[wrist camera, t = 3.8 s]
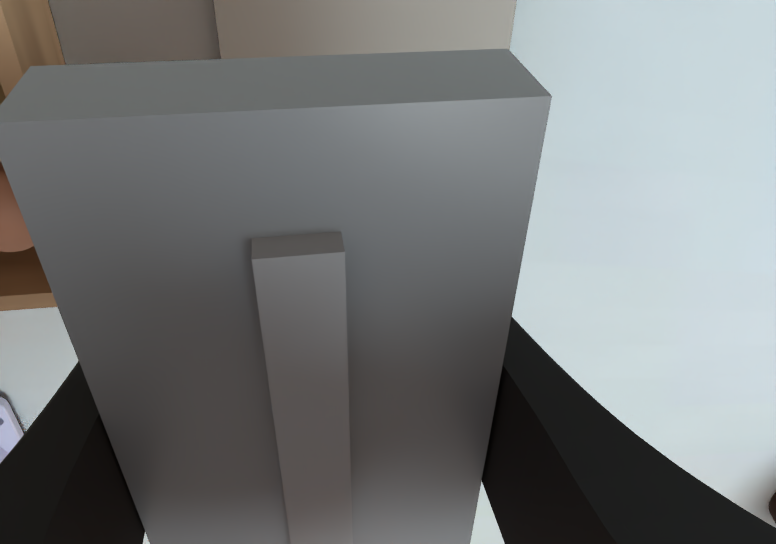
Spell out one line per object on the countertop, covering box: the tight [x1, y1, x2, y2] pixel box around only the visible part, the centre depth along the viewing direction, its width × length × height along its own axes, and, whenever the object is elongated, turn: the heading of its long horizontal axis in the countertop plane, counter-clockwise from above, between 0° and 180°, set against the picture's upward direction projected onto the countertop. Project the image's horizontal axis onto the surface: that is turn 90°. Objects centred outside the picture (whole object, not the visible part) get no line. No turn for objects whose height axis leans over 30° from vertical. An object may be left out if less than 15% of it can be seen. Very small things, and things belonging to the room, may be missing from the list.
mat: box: [213, 0, 517, 59], centre depth 19 cm, size 14×8×1 cm, turn 178°
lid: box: [0, 49, 552, 544], centre depth 10 cm, size 11×6×2 cm, turn 179°
